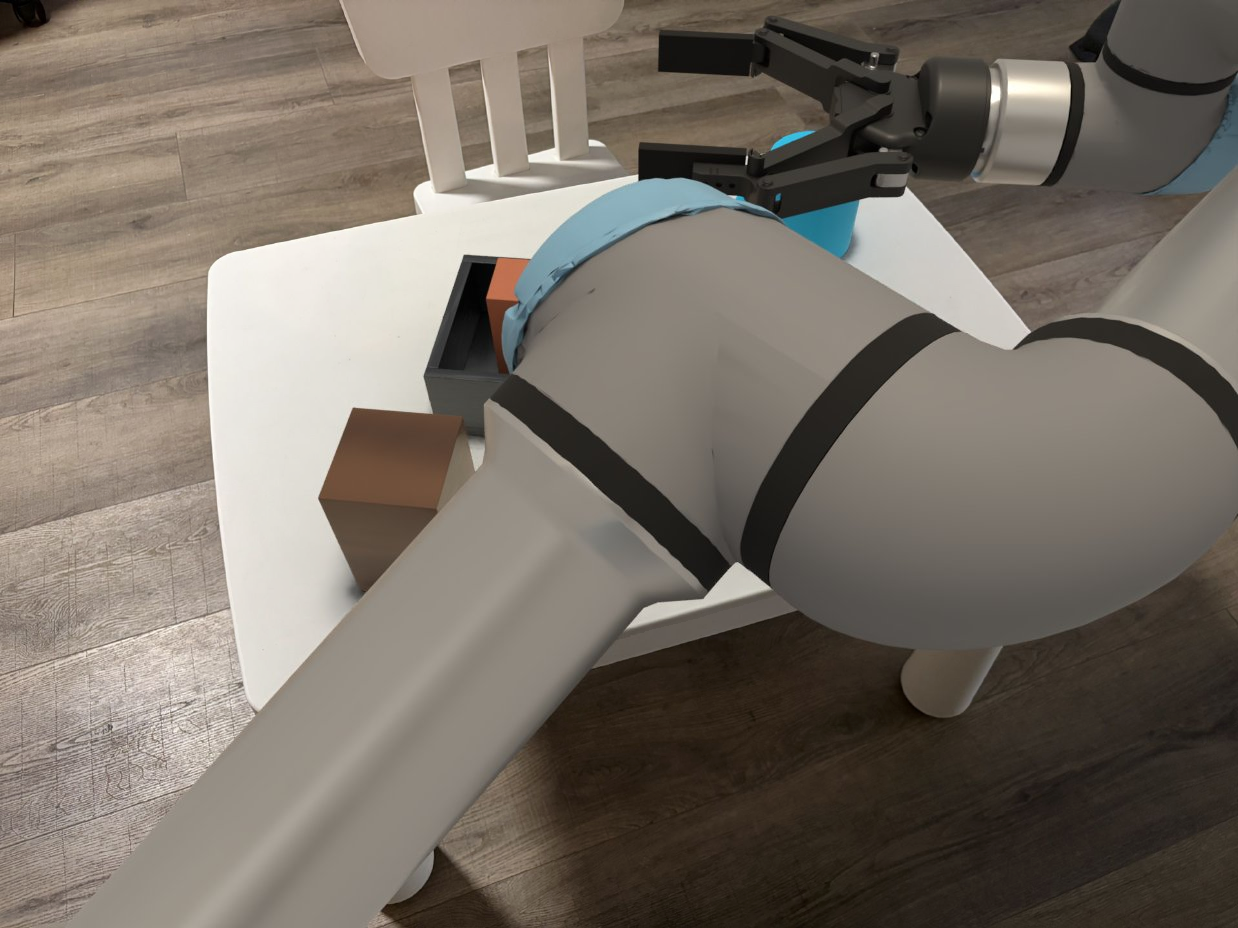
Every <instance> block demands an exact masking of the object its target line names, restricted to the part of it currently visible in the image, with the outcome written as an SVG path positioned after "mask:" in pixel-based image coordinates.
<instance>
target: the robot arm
mask: <svg viewBox="0 0 1238 928" xmlns="http://www.w3.org/2000/svg"><path fill="white" fill-rule="evenodd" d="M657 53H658V54H657V55H658V56H657V57H658V58H657V72H658V73H672V74H673V73H674V74H675V73H676V74H691V75H693V74H694V75H712V76H713V75H714V76H730V77H731V76H732V77H751V78H752V79H754V78H755V77H759V76H760V75H762V74H764V75H766V76H768V77H770V78H772V79H774V80H775V81H777V82H779V83H782V84H783V85H786V86H787V87H790V88H792V89H793V90H796V91H797V92H799V93H801V94H804V95H805V96H806V97H810V98H811V99H813V100H815V101H817V102H819V103H820V104H821V106H822V109H823V111H824V112H825V113H826V114H829V115H828V119H829V124H828V125H827V126H825V127H823V128H820V129H818V130H815V131H816V132H813V133H811V134H808V135H806V136H804V137H801V138H799V139H797V140H794V141H792V142H790V143H787V144H785V145H783V146H780V147H778V148H776V149H773V150H771V149H770V150H771V151H770V150H769V151H766V152H764V153H762V154H761V153H760V152H758V151H757V150H755V149H754V148H753V147H751V148H750V149H749V150H748V148H747V147H734V146H717V145H700V144H699V145H698V144H683V143H667V142H666V143H663V142H650V141H649V142H648V141H639V143H638V147H637V148H638V151H637V153H638V154H637V157H638V158H637V161H638V162H637V181H635V182H630V183H627V184H625V185H622V186H620V187H617V188H614V189H612V190H611V191H608V192H606V193H604V194H603V195H601V196H598V197H597V198H595V199H594V200H592V201H591V202H588V204H586V205H585V206H583V207H582V208H580V209H579V210H578V211H576V212H575V213H574V214H572V215H571V216H570V217H568V218H567V219H566V220H565V221H564V222H563V223H561V224H560V226H558V227H557V228H556V229H555V230H554V231H553V232H552V233H551V234H550V235H549V236H548V238H547V239H545V240H544V242H543V243H541V245H540V246H539V248H537V250H536V252H535V253H534V254H533V255H532V257H531V258H530V259H531V260H530V261H529V263H528V264H527V266H526V267H525V269H524V270H523V272H522V274H521V276H520V278H519V279H518V281H517V284H516V286H515V289H514V295H515V296H516V298H517V299H518V300H519V303H517V304H516V305H515V306H513V307H511V308H509V309H508V310H507V311H506V312H505V315H504V320H503V326H502V349H503V355H504V358H505V361H506V364H507V366H508V370H509V373H510V376H509V377H508V378H507V379H506V381H505V382H504V383H503V384H502V385H501V386H500V387H499V388H498V389H497V390H496V392H495V393H494V394H493V395H492V396H491V397H490V398H489V399H488V400H487V401H486V403H485V404H484V428H485V436H484V453H483V458H482V463H481V465H480V466H478V467H477V469H476V470H475V472H474V474H473V475H472V476H471V477H470V478H469V479H468V480H467V481H466V482H465V484H464V485H463V486H462V487H461V488H460V489H459V490H458V491H457V492H456V494H455V495H454V496H453V497H452V498H451V499H450V500H449V501H448V502H447V504H446V505H445V506H444V507H443V508H442V509H441V510H440V511H439V512H438V514H437V515H436V516H435V517H434V518H433V519H432V520H431V521H430V522H429V523H428V525H427V526H426V527H425V528H424V529H423V530H422V531H421V532H420V533H419V535H418V536H417V537H416V538H415V539H414V540H413V541H412V542H411V543H410V545H409V546H408V547H407V548H406V549H405V550H404V551H403V552H402V553H401V555H400V556H399V557H398V558H397V559H396V560H395V561H394V562H393V563H392V565H391V566H390V567H389V568H388V569H387V570H386V571H385V572H384V573H383V575H382V576H381V577H380V578H379V579H378V580H377V581H376V582H375V583H374V585H373V586H372V587H371V588H370V589H369V590H368V591H365V593H364V595H362V596H361V598H360V599H359V600H358V601H357V602H356V603H355V605H353V607H351V609H350V610H348V612H347V613H346V614H345V615H344V616H343V617H342V619H341V620H340V621H339V622H338V623H337V624H336V626H334V628H333V629H332V630H331V631H329V633H328V634H327V636H325V637H324V639H323V640H322V641H321V642H320V643H319V644H318V645H317V646H316V648H315V649H314V650H313V651H312V652H311V653H310V654H309V655H308V656H307V658H305V660H304V661H303V662H302V663H301V664H300V665H299V666H298V668H297V669H295V671H294V672H293V673H292V674H291V675H290V676H289V677H288V679H287V680H285V682H284V683H283V684H282V685H281V687H280V688H279V689H278V690H277V691H276V692H275V693H274V694H273V695H272V696H271V698H270V699H268V701H267V702H266V703H265V704H264V705H263V707H261V708H260V710H259V711H258V712H257V713H256V714H255V715H254V716H253V718H251V719H250V721H249V722H248V723H247V724H246V725H245V726H244V727H243V729H242V730H241V731H240V732H239V733H238V734H237V735H236V736H235V738H234V739H233V740H232V741H231V742H230V743H229V744H228V745H227V746H226V748H225V749H224V750H223V751H222V752H221V753H220V754H219V755H218V756H217V757H216V759H215V760H214V761H212V763H211V764H210V765H209V766H208V767H207V768H206V770H205V771H204V772H203V773H202V774H201V775H200V776H199V777H198V778H197V779H196V781H195V782H194V783H193V784H192V785H191V787H189V788H188V789H187V791H186V792H185V793H183V795H182V796H181V797H180V799H178V801H176V803H174V805H173V806H172V807H171V808H170V810H168V812H167V813H166V814H165V815H164V816H163V818H162V819H160V821H159V822H158V823H157V824H156V825H155V826H154V828H152V830H151V831H150V832H149V833H148V834H147V835H146V836H145V837H144V839H143V840H142V841H140V843H139V844H138V845H137V847H136V848H134V850H132V852H131V853H130V854H129V855H128V856H127V857H126V859H124V861H123V862H122V863H121V864H120V865H119V866H118V867H117V868H116V870H114V872H113V873H112V874H110V877H108V878H107V879H106V881H105V882H104V883H103V884H102V885H101V886H100V887H99V888H98V890H96V892H95V893H94V894H93V895H92V896H91V897H90V898H89V899H88V901H86V902H85V904H84V905H83V906H82V907H81V909H79V910H78V912H77V913H76V914H75V915H74V916H73V917H72V918H71V919H70V921H69V922H49V923H42V924H36V925H33V926H30V927H28V928H367V927H368V926H369V925H370V924H371V923H372V922H373V920H375V918H376V917H377V916H378V914H379V913H380V912H381V911H382V910H383V909H384V908H385V906H387V904H388V903H389V902H390V901H391V900H392V899H393V898H394V896H395V895H396V894H397V893H398V891H400V889H401V888H402V887H403V886H404V884H406V882H407V881H408V880H409V879H410V878H411V877H412V875H413V874H414V873H415V872H416V871H417V869H419V868H420V866H421V865H422V864H423V863H424V862H425V860H426V859H428V857H429V856H430V855H431V854H432V853H433V852H434V850H435V849H436V848H437V847H438V846H439V844H440V843H441V842H442V841H443V840H444V839H445V837H446V836H447V835H448V834H450V832H451V831H452V829H454V827H455V826H456V825H457V824H458V822H460V821H461V819H462V818H463V817H464V816H465V814H467V812H468V811H469V810H470V809H471V807H472V806H473V805H475V803H476V802H477V801H478V799H479V798H481V796H482V795H483V794H484V793H485V791H486V790H487V789H488V788H489V787H490V786H491V784H493V782H494V781H495V780H496V779H497V778H498V777H499V775H500V774H501V773H502V772H503V771H504V770H505V768H506V767H508V765H509V764H510V763H511V761H513V759H515V757H516V756H517V755H518V753H519V752H521V750H522V749H523V748H524V747H525V745H526V744H528V742H529V741H530V740H531V738H532V737H533V736H534V735H535V734H536V733H537V732H538V731H539V729H540V728H542V726H543V725H544V724H545V723H546V721H547V720H548V719H549V718H550V717H551V715H552V714H553V713H554V712H555V711H556V710H557V709H558V708H559V706H561V704H562V703H563V702H564V701H565V700H566V698H568V696H569V695H570V694H571V693H572V691H573V690H574V689H575V688H576V687H577V686H578V685H579V683H580V682H581V681H582V680H583V679H584V678H585V677H586V676H587V674H588V673H589V672H590V671H591V669H593V667H594V666H595V665H596V664H597V663H598V661H600V659H601V658H602V657H603V656H604V655H605V654H606V652H607V651H608V650H609V649H610V648H611V647H612V645H614V643H616V641H617V640H618V638H619V637H620V636H621V635H622V634H623V633H624V632H625V631H626V630H627V629H628V627H629V626H630V625H631V624H632V623H633V621H634V620H635V619H636V618H637V617H638V616H639V614H640V613H641V612H642V611H643V610H644V609H645V608H648V607H650V606H652V605H655V604H656V605H657V604H658V603H672V602H684V601H685V602H686V601H697V600H705V597H706V596H707V595H708V594H709V593H710V592H711V591H712V590H713V588H714V587H715V586H716V585H717V584H718V583H719V581H720V580H721V579H722V578H724V576H725V574H726V573H727V572H728V571H729V570H730V569H731V568H732V567H733V566H734V565H735V564H737V563H738V564H739V565H741V566H742V567H744V568H745V569H746V570H747V571H749V572H751V573H752V574H753V575H754V576H756V577H757V578H758V579H759V580H760V581H762V582H763V584H765V585H767V587H769V589H771V590H772V591H774V592H775V593H776V594H777V595H778V596H779V597H780V598H782V599H783V600H784V601H785V602H786V603H787V604H788V605H790V606H791V607H793V608H794V609H795V610H797V611H798V612H800V613H802V614H803V615H804V616H806V617H807V618H809V619H810V620H812V621H814V622H816V623H818V624H820V625H822V626H824V627H827V628H828V629H830V630H832V631H835V632H837V633H841V634H843V635H846V636H849V637H852V638H854V639H859V640H861V641H866V642H870V643H874V644H878V645H882V646H886V647H892V648H893V647H894V648H900V649H901V648H902V649H908V650H925V651H947V652H948V651H949V652H950V651H968V650H969V651H971V650H982V649H990V648H999V647H1004V646H1005V647H1006V646H1013V645H1016V644H1022V643H1026V642H1031V641H1035V640H1041V639H1044V638H1046V637H1050V636H1053V635H1058V634H1060V633H1063V632H1067V631H1069V630H1074V629H1077V628H1079V627H1082V626H1083V627H1084V626H1085V625H1088V624H1090V623H1093V622H1095V621H1096V620H1099V619H1102V618H1103V617H1106V616H1108V615H1110V614H1113V613H1115V612H1117V611H1119V610H1121V609H1123V608H1125V607H1128V606H1130V605H1131V604H1134V603H1136V602H1139V601H1140V600H1141V599H1143V598H1145V597H1147V596H1149V595H1151V594H1152V593H1153V592H1155V591H1157V590H1159V589H1160V588H1161V587H1163V586H1165V585H1167V584H1168V583H1170V582H1172V581H1173V580H1175V579H1176V578H1178V577H1179V576H1181V574H1182V573H1184V572H1185V571H1186V570H1187V569H1188V568H1189V567H1191V566H1192V565H1193V564H1194V563H1196V561H1197V560H1199V559H1200V558H1201V557H1202V556H1204V554H1206V553H1207V552H1208V551H1209V550H1210V549H1211V548H1212V547H1213V546H1214V544H1216V542H1218V540H1219V539H1221V537H1222V536H1223V535H1224V534H1225V532H1226V531H1228V529H1229V528H1230V527H1231V526H1232V524H1233V523H1234V522H1235V521H1236V519H1237V518H1238V0H1120V3H1119V6H1118V8H1117V10H1116V13H1115V15H1114V17H1113V21H1112V23H1111V25H1110V29H1109V31H1108V34H1107V36H1106V39H1105V41H1104V44H1103V45H1102V48H1101V51H1100V52H1099V56H1098V58H1097V60H1096V61H1095V62H1068V61H1059V60H1037V59H1035V60H1034V59H1013V58H997V59H996V60H995V61H993V63H992V64H990V66H989V64H988V63H987V62H986V61H985V60H984V59H983V58H981V57H969V56H968V57H967V56H948V55H946V56H944V55H933V56H930V57H928V58H927V59H926V60H925V61H924V62H923V64H922V65H921V67H920V70H919V71H917V72H916V73H915V74H913V75H909V74H903V73H900V72H896V71H897V70H896V69H897V66H898V62H899V61H898V60H899V57H900V53H901V49H900V47H898V46H896V45H891V44H882V43H875V42H866V41H863V40H859V39H857V38H852V37H850V36H845V35H842V34H839V33H835V32H831V31H829V30H825V29H822V28H819V27H815V26H813V25H808V24H804V23H802V22H798V21H794V20H791V19H787V18H784V17H780V16H777V15H768V16H766V17H765V18H764V20H763V26H762V27H759V28H756V29H755V30H754V33H739V32H719V31H718V32H717V31H700V30H699V31H697V30H680V29H679V30H677V29H659V31H658V51H657ZM970 176H971V178H972V180H974V181H975V183H982V184H1001V185H1020V186H1021V185H1022V186H1036V187H1048V188H1057V189H1058V188H1059V189H1072V190H1074V189H1075V190H1087V191H1098V192H1099V191H1100V192H1101V191H1102V192H1114V193H1127V194H1132V195H1135V196H1143V197H1144V196H1152V195H1192V194H1193V195H1195V194H1202V193H1206V192H1208V193H1207V194H1206V195H1205V196H1204V197H1203V198H1202V199H1201V200H1200V201H1199V202H1198V203H1197V204H1196V205H1195V206H1194V207H1193V208H1192V209H1191V210H1190V211H1189V212H1188V213H1187V214H1186V215H1185V216H1183V218H1182V219H1181V220H1180V221H1179V222H1178V223H1177V224H1175V226H1174V227H1173V228H1172V229H1170V231H1169V232H1168V233H1167V234H1166V235H1165V236H1164V237H1163V238H1161V240H1160V241H1159V242H1158V243H1157V244H1156V245H1154V247H1152V249H1151V250H1149V252H1148V253H1147V254H1146V255H1145V256H1144V257H1142V259H1141V260H1140V261H1138V262H1137V263H1136V265H1134V266H1133V267H1132V268H1131V269H1130V270H1129V271H1128V272H1127V273H1126V275H1124V276H1123V278H1121V280H1119V281H1118V282H1117V283H1116V285H1114V286H1113V287H1112V289H1110V290H1109V291H1108V292H1107V293H1106V294H1105V295H1104V296H1103V297H1102V298H1101V299H1100V300H1099V301H1098V302H1097V303H1096V304H1095V305H1094V306H1093V307H1092V308H1091V309H1090V310H1089V311H1088V312H1085V313H1084V312H1083V313H1082V312H1081V313H1075V314H1068V315H1064V316H1061V317H1057V318H1054V319H1051V320H1049V321H1047V322H1045V323H1043V324H1041V325H1039V326H1037V327H1036V328H1035V329H1033V330H1032V331H1030V332H1029V333H1028V334H1026V335H1025V336H1024V337H1023V338H1022V339H1021V340H1020V341H1019V342H1018V343H1017V344H1016V345H1015V346H1014V347H1013V348H1012V349H1004V348H1002V347H999V346H997V345H994V344H991V343H988V342H985V341H983V340H980V339H979V338H977V337H975V336H973V335H971V334H970V333H967V332H965V331H963V330H961V329H960V328H958V327H956V326H954V325H952V324H951V323H949V322H948V321H946V320H944V319H942V318H941V317H939V316H938V315H936V314H935V313H933V312H931V311H929V310H927V309H926V308H924V307H922V306H921V305H919V304H918V303H916V302H915V301H912V300H911V299H909V298H908V297H906V296H904V295H902V294H900V293H899V292H897V291H895V290H894V289H892V288H891V287H889V286H887V285H885V284H884V283H882V282H880V281H879V280H877V279H876V278H874V277H872V276H870V275H868V274H867V273H866V272H863V271H862V270H860V269H859V268H857V267H855V266H854V265H852V264H850V263H848V262H847V261H845V260H843V259H842V258H838V257H837V256H835V255H833V254H832V253H830V252H828V251H827V250H825V249H823V248H822V247H820V246H818V245H816V244H815V243H813V242H811V241H810V240H808V239H806V238H805V237H803V236H801V235H800V234H798V233H796V232H795V231H793V230H791V229H790V228H788V227H787V225H786V224H785V222H784V221H783V220H782V219H784V218H788V217H792V216H796V215H800V214H804V213H808V212H812V211H816V210H821V209H825V208H829V207H833V206H837V205H841V204H845V203H849V202H853V201H857V200H860V201H861V200H865V199H870V198H873V199H876V198H877V199H878V198H881V199H882V198H883V199H884V198H886V199H887V198H889V199H890V198H901V197H902V196H904V194H905V192H906V189H907V184H908V181H909V178H911V179H914V180H915V181H916V180H917V181H933V182H934V181H935V182H950V183H962V182H963V181H964V180H966V179H967V178H968V177H970ZM777 194H781V196H780V200H777V201H775V200H776V195H777ZM737 196H741V197H744V200H745V201H746V202H744V201H739V200H736V198H734V197H737Z"/></svg>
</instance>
